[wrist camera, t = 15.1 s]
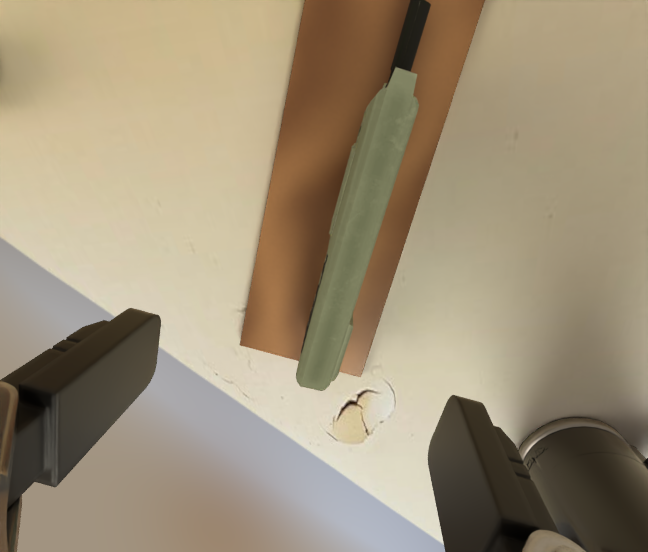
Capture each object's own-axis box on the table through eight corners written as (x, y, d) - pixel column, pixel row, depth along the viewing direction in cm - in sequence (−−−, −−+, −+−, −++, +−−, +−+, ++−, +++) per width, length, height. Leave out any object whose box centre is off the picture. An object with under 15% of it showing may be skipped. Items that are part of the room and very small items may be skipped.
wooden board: (490, -23, 24) (493, -27, 23) (360, 373, 34) (360, 377, 34) (319, -67, 24) (318, -72, 23) (241, 341, 34) (239, 345, 34)
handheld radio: (299, 335, 33) (391, -1, 24) (336, 345, 33) (441, 13, 24) (287, 383, 27) (406, -48, 18) (333, 395, 27) (473, -28, 18)
